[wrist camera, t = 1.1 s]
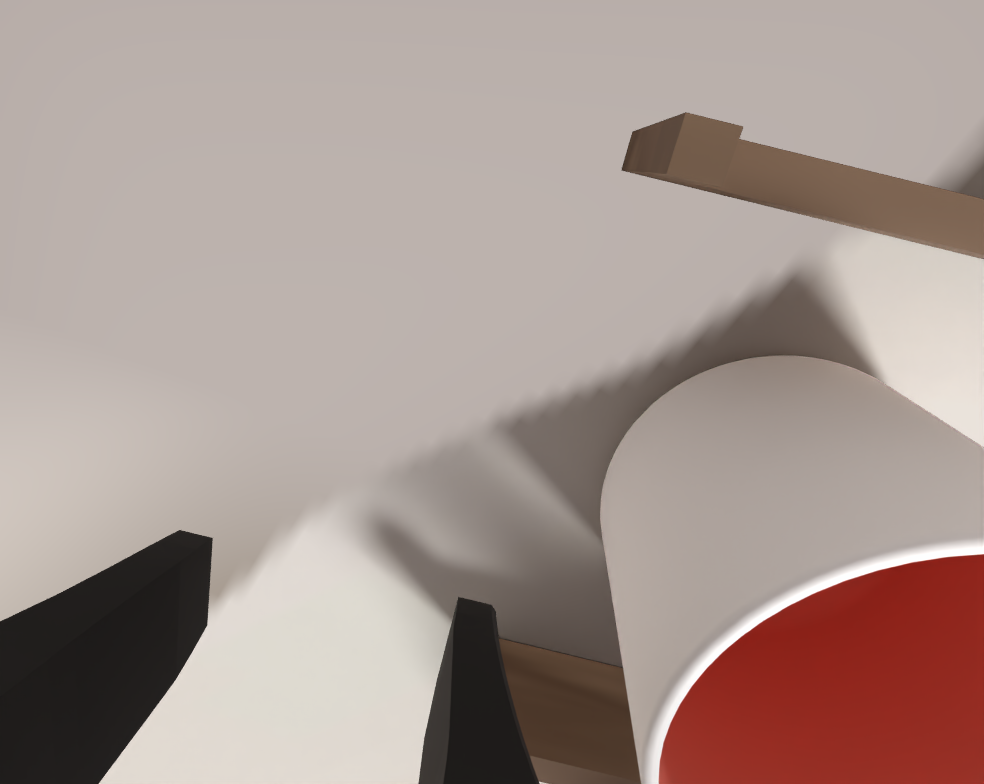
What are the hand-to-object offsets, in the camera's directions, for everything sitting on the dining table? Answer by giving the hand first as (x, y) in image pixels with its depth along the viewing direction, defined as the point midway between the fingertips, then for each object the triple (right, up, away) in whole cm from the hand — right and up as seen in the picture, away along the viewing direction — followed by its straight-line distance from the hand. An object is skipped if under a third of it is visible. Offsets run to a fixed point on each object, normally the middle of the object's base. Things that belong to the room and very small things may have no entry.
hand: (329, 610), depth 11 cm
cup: (+11, +1, +9) cm, 15 cm away
